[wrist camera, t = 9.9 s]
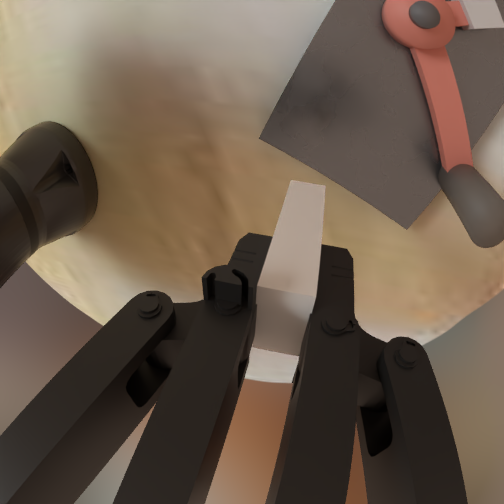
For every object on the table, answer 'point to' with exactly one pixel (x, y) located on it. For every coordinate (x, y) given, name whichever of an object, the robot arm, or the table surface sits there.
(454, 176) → the lever
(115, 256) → the table surface
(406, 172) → the base
